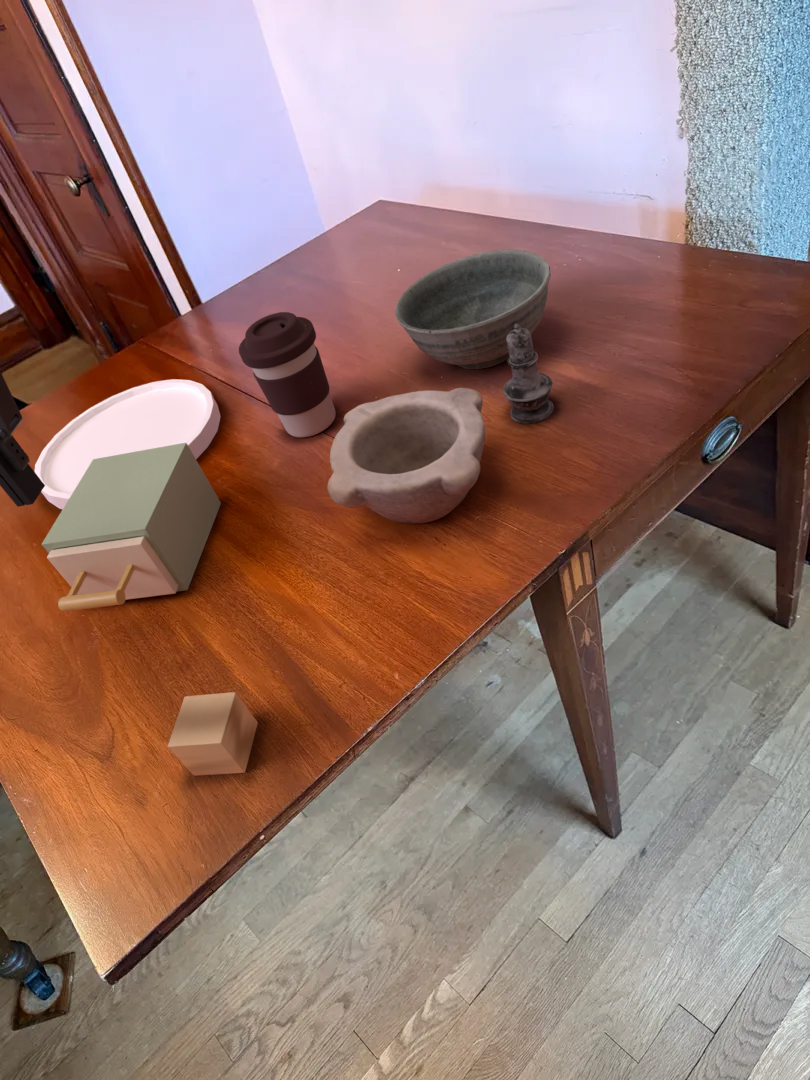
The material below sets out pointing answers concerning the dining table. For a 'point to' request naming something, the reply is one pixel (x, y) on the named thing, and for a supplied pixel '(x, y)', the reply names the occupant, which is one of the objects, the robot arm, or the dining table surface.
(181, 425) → the plate
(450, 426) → the mortar
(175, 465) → the cabinet
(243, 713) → the block
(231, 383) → the dining table surface
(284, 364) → the coffee cup
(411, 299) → the bowl
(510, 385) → the grey stone chess piece
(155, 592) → the drawer
